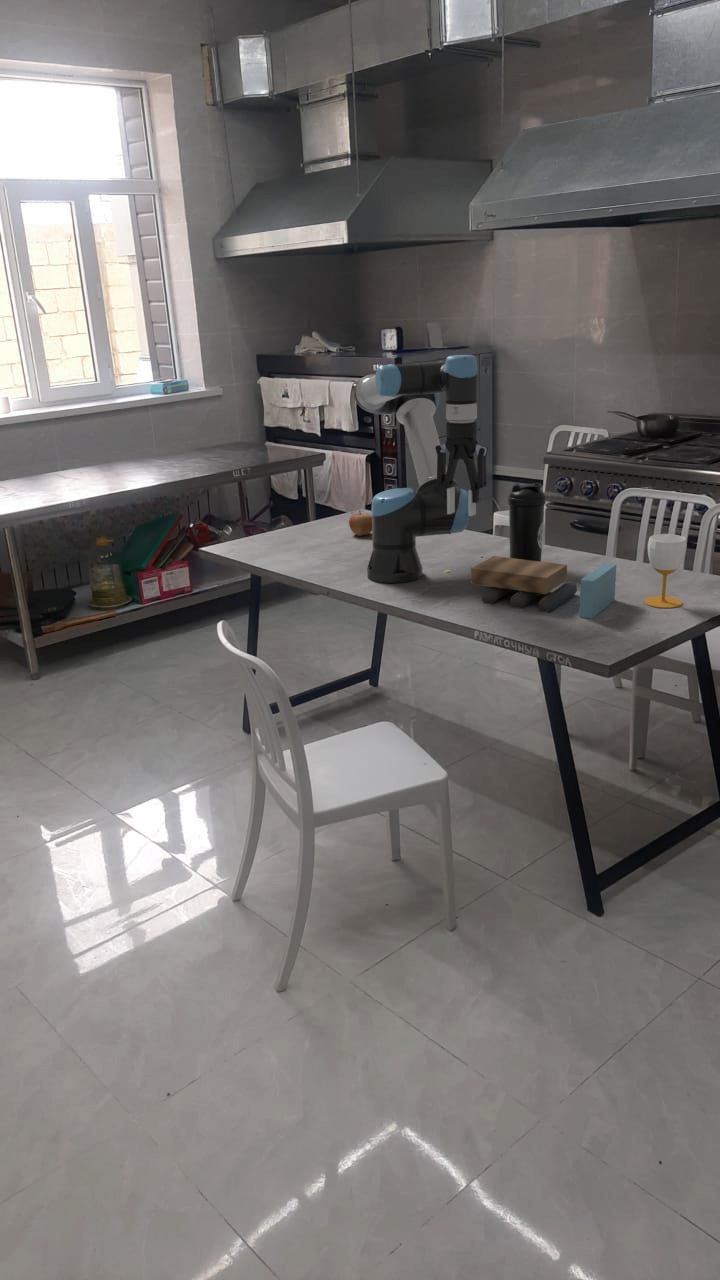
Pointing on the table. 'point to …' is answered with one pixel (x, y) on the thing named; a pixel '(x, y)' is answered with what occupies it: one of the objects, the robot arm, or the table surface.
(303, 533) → the table surface
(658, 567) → the cup
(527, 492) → the water bottle
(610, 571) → the block
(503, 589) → the roller rear
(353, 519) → the apple
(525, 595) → the roller mid
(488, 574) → the slab
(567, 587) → the cylinder
